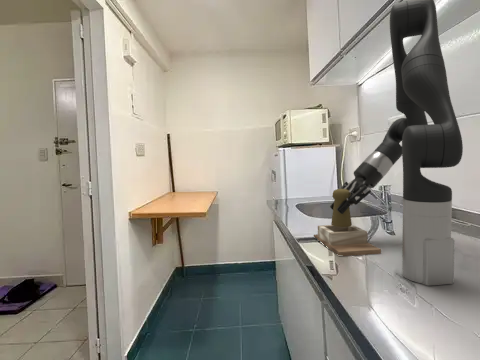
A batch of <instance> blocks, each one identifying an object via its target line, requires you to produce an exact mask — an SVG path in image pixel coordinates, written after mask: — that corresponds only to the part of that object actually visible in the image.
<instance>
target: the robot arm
mask: <svg viewBox="0 0 480 360" xmlns="http://www.w3.org/2000/svg"><path fill="white" fill-rule="evenodd" d="M437 17H438V16H437V7H436V3H435V0H405V1H404V0H403V1H399V2H396V3H394V4H392V6H391V9H390V13H389V33H390V34H389V36H390V45H391V54H392V62H393V68H394V78H395V108H396V110H397V111H398V112H400V113H401V114H403V115H404V116H405V117H399V118H397V119H395V121H393V122H392V123H391V124H390V126H389V128H388V130H387V132H386V134H385V136H384V138H383V140H382V141H381V143H380V144H379V145H378V146H377V147H376V148H375V150H373V151H372V152H371V153H370V154H369V155H368V156H366V158H365V159H364V160H363V161H362V163H360V165H358V167H357V168H356V169H355V170H354V171H353V176H354V179H352V180H350V182H347V181H344V183H343V184H342V186H341V187H340V189H347V190H349V192H348V193H349V195H348V197H347V198H346V199H345V200H346V201H345V200H344V201H343V202H342V203H341V204H340V206H339V207H338V208H337V211H338V212H339V213H341V214H343V213H344V212H345V211H346V210H347V209H348V208H350V207H351V206H353V205H355V206H356V205H358V204H359V203H360V202H361V201H363V200H364V199H365V198H366V197H367V196H368V195H370V193H372V190H371V189H374V188H375V187H376V186H377V185H378V184H379V182H380V181H381V180H382V179H383V178H384V177H385V176H386V175H387V174H388V173H389V171H390V170H391V169H392V167H393V166H394V165H395V164H396V163H397V161H398V160H399V159H401V157H402V234H401V236H402V237H401V238H402V240H401V241H402V243H401V245H402V247H401V248H402V251H401V253H402V256H401V258H402V259H401V260H402V261H401V263H402V264H401V275H402V276H403V277H404V278H406V279H407V280H409V281H412V282H415V283H419V284H423V285H425V286H440V285H451V284H453V285H454V283H455V282H454V279H455V278H454V277H455V239H454V238H453V237H452V213H453V211H452V210H453V209H452V208H453V191H452V188H451V187H450V186H448V185H445V184H442V183H439V182H436V181H433V180H431V179H429V178H427V177H425V176H424V175H423V174H422V172H421V169H442V168H443V169H444V168H452V167H455V166H457V165H459V164H460V163H461V160H462V158H463V152H464V151H463V150H464V149H463V148H464V146H463V145H464V144H463V138H462V134H461V133H462V132H461V130H460V126H459V122H458V120H457V116H456V113H455V110H454V107H453V103H452V99H451V95H450V90H449V85H448V83H449V82H448V77H447V71H446V66H445V65H446V63H445V59H444V56H443V51H442V47H441V43H440V38H439V29H438V28H439V27H438V25H439V24H438V18H437ZM417 36H420V38H419V39H418V41H417V43H415V45H414V46H412V48H411V49H410V51H409V52H408V53H406V49H405V46H404V45H405V44H404V39H407V38H411V37H417ZM426 114H427V115H428V116H429V118H430V119H431V120H432V122H433V123H432V124H429V123H428V120H427V116H426ZM400 143H401V144H400ZM329 207H330V209H331V210H332V211H333V207H334V201H333V202H332V203H331V205H330V206H329Z"/></svg>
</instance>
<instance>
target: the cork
mask: <svg viewBox="0 0 480 360" xmlns="http://www.w3.org/2000/svg"><path fill="white" fill-rule="evenodd" d="M348 192H349V190H347V189H341V188H337V189H335V190H333V192H332V198H333V200H334V201H333V202H334V207H333V210H332V215H331V223H330V225H333V226H337V227H349V226H351V225H353V224H352V216H351V210H350V209H351V208H350V207H349V208H348V209H347V210H346V211H345V212H344V213H343V214H341V213H339V212H338V211H337V208H338V207H339V206H340V204H341V203H342V202H343V201H344V200H345V199H346V198H347V197H348V195H349V193H348ZM345 201H346V200H345Z"/></svg>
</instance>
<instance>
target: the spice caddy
mask: <svg viewBox="0 0 480 360" xmlns="http://www.w3.org/2000/svg"><path fill="white" fill-rule="evenodd" d="M314 237H315V238H317V239H318V240H319V241H321V242H322V243H323V244H324V245H325V246H327V247H328V248H329V249H330V250H329V249H328V248H327V247H326V248H327V249H328V250H329V251H331V250H332V251H333V252H332V251H331V252H332V253H333V254H335V253H336V254H338V255H343V256H342V257H350V256H351V257H352V256H364V255H365V256H366V255H367V256H368V255H379V254H382V249H381V248H379V247H378V246H375V245H374V244H371V243H369V242H368V231H367V230H365V229H363V228H360V227H359V226H356V225H354V224H352V225H351V226H349V227H337V226H333V225H331V224H324V225H317V234H313V238H314ZM324 245H323V246H324ZM325 246H324V247H325ZM336 254H335V255H336ZM338 255H337V256H338Z"/></svg>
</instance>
